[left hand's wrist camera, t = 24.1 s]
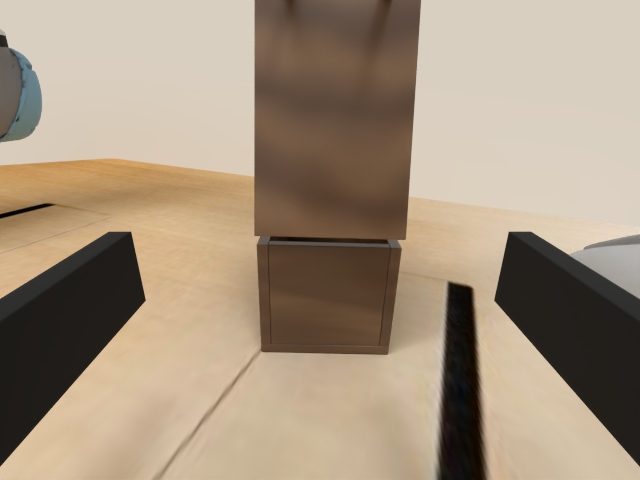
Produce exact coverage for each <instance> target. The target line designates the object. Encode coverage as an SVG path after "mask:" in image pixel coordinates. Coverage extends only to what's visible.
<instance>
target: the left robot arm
mask: <svg viewBox="0 0 640 480" xmlns="http://www.w3.org/2000/svg"><path fill="white" fill-rule="evenodd" d="M145 301H146V300H145V295H144V290H143V286H142V281H141V276H140V272H139V267H138V262H137V257H136V253H135V248H134V243H133V239H132V234H131V232H108V233H106V234H105V235H103V236H101V237H100V238H98V239H96V240H95V241H93V242H92V243H90V244H88V245H87V246H85V247H84V248H82V249H80V250H79V251H77V252H75V253H74V254H72V255H71V256H69V257H67V258H66V259H64V260H62V261H61V262H59V263H58V264H56V265H54V266H53V267H51V268H50V269H48V270H46V271H45V272H43V273H41V274H40V275H38V276H37V277H35V278H33V279H32V280H30V281H28V282H27V283H25V284H24V285H22V286H20V287H19V288H17V289H16V290H14V291H12V292H11V293H9V294H7V295H6V296H4V297H3V298H1V299H0V466H1V465H2V464H3V463H4V462H5V461H6V459H7V458H8V457H9V456H10V455H11V454H12V453H13V451H14V450H15V449H16V448H17V447H18V446H19V445H20V443H21V442H22V441H23V440H24V439H25V438H26V437H27V435H28V434H29V433H30V432H31V431H32V430H33V429H34V427H35V426H36V425H37V424H38V423H39V422H40V421H41V419H42V418H43V417H44V416H45V415H46V414H47V413H48V411H49V410H50V409H51V408H52V407H53V406H54V405H55V403H56V402H57V401H58V400H59V399H60V398H61V397H62V395H63V394H64V393H65V392H66V391H67V390H68V389H69V387H70V386H71V385H72V384H73V383H74V382H75V381H76V379H77V378H78V377H79V376H80V375H81V374H82V373H83V371H84V370H85V369H86V368H87V367H88V366H89V365H90V363H91V362H92V361H93V360H94V359H95V358H96V357H97V355H98V354H99V353H100V352H101V351H102V350H103V349H104V347H105V346H106V345H107V344H108V343H109V342H110V341H111V340H112V338H113V337H114V336H115V335H116V334H117V333H118V332H119V330H120V329H121V328H122V327H123V326H124V325H125V324H126V322H127V321H128V320H129V319H130V318H131V317H132V316H133V314H134V313H135V312H136V311H137V310H138V309H139V308H140V306H141V305H142V304H143V303H144V302H145ZM494 301H495V302H496V303H497V304H498V305H499V306H500V308H501V309H502V310H503V311H504V312H505V313H506V314H507V316H508V317H509V318H510V319H511V320H512V321H513V322H514V324H515V325H516V326H517V327H518V328H519V329H520V330H521V332H522V333H523V334H524V335H525V336H526V337H527V338H528V340H529V341H530V342H531V343H532V344H533V345H534V346H535V347H536V349H537V350H538V351H539V352H540V353H541V354H542V355H543V357H544V358H545V359H546V360H547V361H548V362H549V363H550V365H551V366H552V367H553V368H554V369H555V370H556V371H557V373H558V374H559V375H560V376H561V377H562V378H563V379H564V381H565V382H566V383H567V384H568V385H569V386H570V387H571V389H572V390H573V391H574V392H575V393H576V394H577V395H578V397H579V398H580V399H581V400H582V401H583V402H584V403H585V405H586V406H587V407H588V408H589V409H590V410H591V411H592V413H593V414H594V415H595V416H596V417H597V418H598V419H599V421H600V422H601V423H602V424H603V425H604V426H605V427H606V429H607V430H608V431H609V432H610V433H611V434H612V435H613V437H614V438H615V439H616V440H617V441H618V442H619V443H620V445H621V446H622V447H623V448H624V449H625V450H626V451H627V453H628V454H629V455H630V456H631V457H632V458H633V459H634V461H635V462H636V463H637V464H638V465H639V466H640V299H639V298H637V297H636V296H634V295H633V294H631V293H629V292H628V291H626V290H624V289H623V288H621V287H620V286H618V285H616V284H615V283H613V282H612V281H610V280H608V279H607V278H605V277H603V276H602V275H600V274H599V273H597V272H595V271H594V270H592V269H590V268H589V267H587V266H586V265H584V264H582V263H581V262H579V261H578V260H576V259H574V258H573V257H571V256H569V255H568V254H566V253H565V252H563V251H561V250H560V249H558V248H556V247H555V246H553V245H552V244H550V243H548V242H547V241H545V240H544V239H542V238H540V237H539V236H537V235H535V234H534V233H532V232H509V234H508V239H507V243H506V248H505V253H504V257H503V262H502V267H501V272H500V276H499V281H498V286H497V290H496V295H495V300H494Z"/></svg>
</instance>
